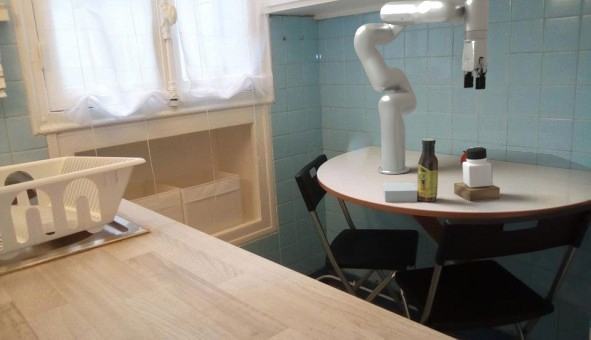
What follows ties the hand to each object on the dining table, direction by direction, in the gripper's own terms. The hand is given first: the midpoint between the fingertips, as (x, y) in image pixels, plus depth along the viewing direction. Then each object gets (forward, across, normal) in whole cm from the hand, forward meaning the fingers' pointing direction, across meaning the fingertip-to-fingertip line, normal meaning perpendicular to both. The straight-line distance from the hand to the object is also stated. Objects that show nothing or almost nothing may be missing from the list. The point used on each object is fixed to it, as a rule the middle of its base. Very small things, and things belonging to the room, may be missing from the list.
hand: (474, 88), depth 162 cm
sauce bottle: (+34, +17, -21) cm, 43 cm away
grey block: (+34, +12, -29) cm, 46 cm away
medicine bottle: (+30, +16, -5) cm, 34 cm away
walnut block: (+34, +16, -5) cm, 38 cm away
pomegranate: (+34, -23, +9) cm, 42 cm away
